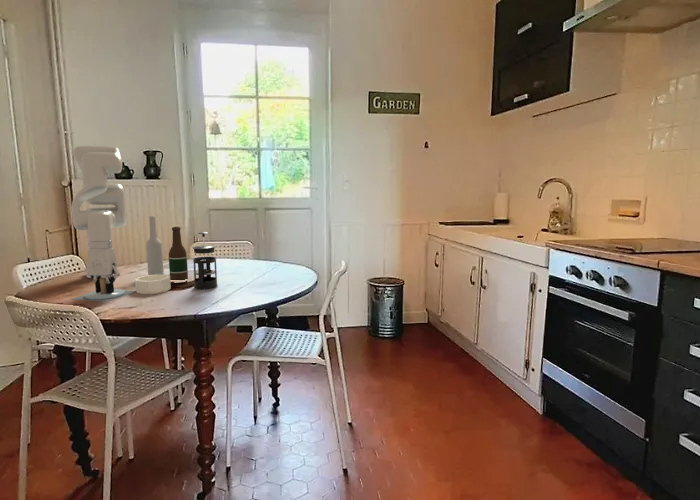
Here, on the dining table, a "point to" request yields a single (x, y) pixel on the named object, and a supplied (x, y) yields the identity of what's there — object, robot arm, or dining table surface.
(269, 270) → the dining table surface
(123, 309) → the dining table surface
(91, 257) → the robot arm
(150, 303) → the dining table surface
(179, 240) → the beer bottle
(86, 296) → the lid
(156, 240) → the bottle
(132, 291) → the mat
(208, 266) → the french press
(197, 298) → the dining table surface
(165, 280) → the bowl
